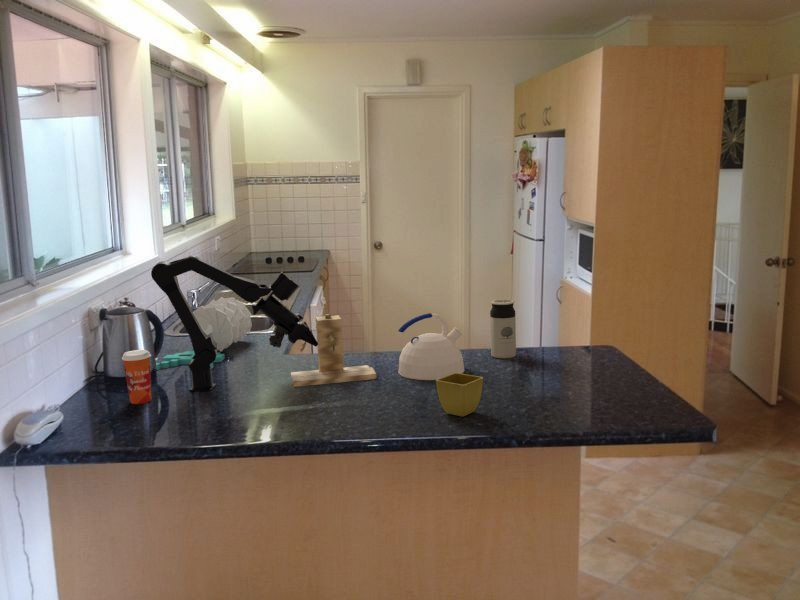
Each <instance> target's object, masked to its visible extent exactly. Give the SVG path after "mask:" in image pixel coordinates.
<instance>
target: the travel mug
mask: <svg viewBox="0 0 800 600" xmlns="http://www.w3.org/2000/svg"><path fill="white" fill-rule="evenodd" d="M514 303H515V300H513V299H501V298H500V299H493V300H491V301H490V304H491V306H492V307H491V310H490V311H489V315H490V352H491V354H490V355H491V357H493V358H495V359H512V358H514V357H516V356H517V339H516V338H517V335H516V331H517V329H516V328H517V327H516V310H515V308H514Z"/></svg>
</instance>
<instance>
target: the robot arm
mask: <svg viewBox="0 0 800 600" xmlns="http://www.w3.org/2000/svg"><path fill="white" fill-rule="evenodd" d="M191 271H192V272H194V273H196V274H198V275H201V276H202V277H204V278H207V279H209V280H211V281H213V282H215V283H218V284H220V285H222V286H224V287H226V288H228V289H229V290H230V291H232V292H233V293H234V294H236V295H237V296H238V297H240V298H241V299H243V300H244V302H246V303H252V304H251V309H252V314H253V315H257V313H258V312H259V311H260V312H261V313H262V314H263V315H264V316H266V317H267V318H268V319H269V320H270V321H271V322H273V325H274V330H273V331H272V334H270V337H269V338H268V341H269V345H270V346H272V347H274V348H279V349H281V346H282V342H283V339H284V337H285V336H287V339H288V341H289V342H290V343H292V344H293V345H295V344H296V342H297V341H304V342H305V343H307V344H309V345H312V346H314V347H317V345H318V343H317V338H315V336H314V333H313V332H312V330H311V329H310V327H309V325H308V323H307V321H301V320H304V316H303V315H302V314H301V313H299V312H296V313H295V312H293V311H291V310H290V309H289V307H288V306H286V305H284V304H283V303H282V302H283V301H288V300H289V299H290V298H291V297H292V296H293V295H294V294H295V292H297V290H298V289H299V288H300V285H299V284H298V283H297V282H296V281H295V280H294V279H292V277H289V276H288V275H286V274H285V273H284V272H283V271H281V272H279V274H278V275H277V277H276V278H275V280H274V281H273V282H272V283H271V284H267V283H266V284H264V283H263V284H262V283H259V282H257V281H256V280H253V279H249V278H246V277H242V276H238V275H234V274H231V273H230V272H228V271H226V270H224V269H222V268H219V267H218V266H215V265H213V264H212V263H209V262H207V261H205V260H202V259H201V258H199V257H198V256H196V255H193V254H192V255H188V256H187V257H184V258H180V259H176V260H174V261H173V260H172V261H170V262H169V261H166V260H162V261H159V262H157V263H156V264H155V265H154V266H153V267H152V269H151V272H150V275H151V279H152V280H153V281H154V282H155V284H156V285H157V286H158V287H159V288H160V290H161V291H162V292H163V293H164V294H165V295H166V296H167V298H168V299H169V302H170V303H171V305H172V307H173V309H174V310H175V312H176V314H177V316H178V318H179V319H180V322H181V324H182V325H183V327H184V329H185V330H186V331H185V332H186V333H187V334H188V337H189V338H190V342H191V346H192V351H193V350H194V353H195V355H194V356H193V357H192V358H191V361H190V364H188V367H189V369H190V373H191V385H192V386H191V387H190V388H188V392H205V391H206V392H210V391H211V390H213V388H215V386H217V383H216V382H213V377H212V376H213V375H212V369H211V366H210V364H211V363H213V364H214V363H215V362H214V360H215V359H216V355H217V352H218V350H217V345H218V344H217V343H216V342H215V341H214V339H213V336H212V333H210V334H208V335H207V334H206V333H205V332H204V331H203V330H202V329H201V327H200V325H199V323H198V321H197V319H196V317H195V315H194V314H193V312H194V311H193V310H192V309H191V307H190V304H189V302H188V301H187V299H186V297H185V295H184V293H183V291H182V290H181V288H180V283H179V280H178V279H179V278H178V276H180V275H183V274H185V273H188V272H191ZM265 296H266V297H265ZM275 297H276V298H275ZM278 299H279V300H280V301H279V300H278Z"/></svg>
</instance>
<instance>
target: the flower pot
mask: <svg viewBox="0 0 800 600" xmlns="http://www.w3.org/2000/svg"><path fill="white" fill-rule="evenodd" d="M483 381H484V377H483V376H479V375H478V376H477V375H473V374H472V375H471V374H465V373H462V374H461V373H453V374H450V375H448V376H445V377H442V378H440V379H437V380H435V384H436V385H435V386H436V390H437V395H438V400H439V403H440V405H441V406H442V408H443V410H444V411H445V413H446V414H447V415H453V416H459V417H465V416H467V415H470V414H472V413H474V412H475V411H476V409H477V407H478V405H479V403H480V401H481V397H482V393H483V392H482V391H483V384H484V382H483Z"/></svg>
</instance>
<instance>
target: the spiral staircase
mask: <svg viewBox="0 0 800 600" xmlns="http://www.w3.org/2000/svg"><path fill="white" fill-rule="evenodd" d="M246 305H247V304H246V303H245V302H242V301H241V300H237V299H236V298H235V297H226V298H225V297H223V296H221V297H220V298H218V299H217V300H215V299H212V300H211V301H210V302H209V303H207V304H206V305H205V306H204V305H200V306H198V308H196V309H195V310H194V311H192V312H193V314H194V315H195V317H196V319H197V321H198V323H199V325H200V327H201V329H202V330H203V331H204V332H205V333H206V334H207V335H208V334H210V333H212V336H213V339H214V341H215V342H216V343H217V344H218V345H217V351H218V352H220V353H222V352H223V351H224V350H227V349H228V348H229V347H230V346H231V345H232V344H233V343H238V341H239V340H242V339H244V337H245V336H246V334H247V333H251V328H252V326H253V325H252V318H251V316H253V315H252V314H253V313H251V312H250V310H249V309H248V307H246Z"/></svg>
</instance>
